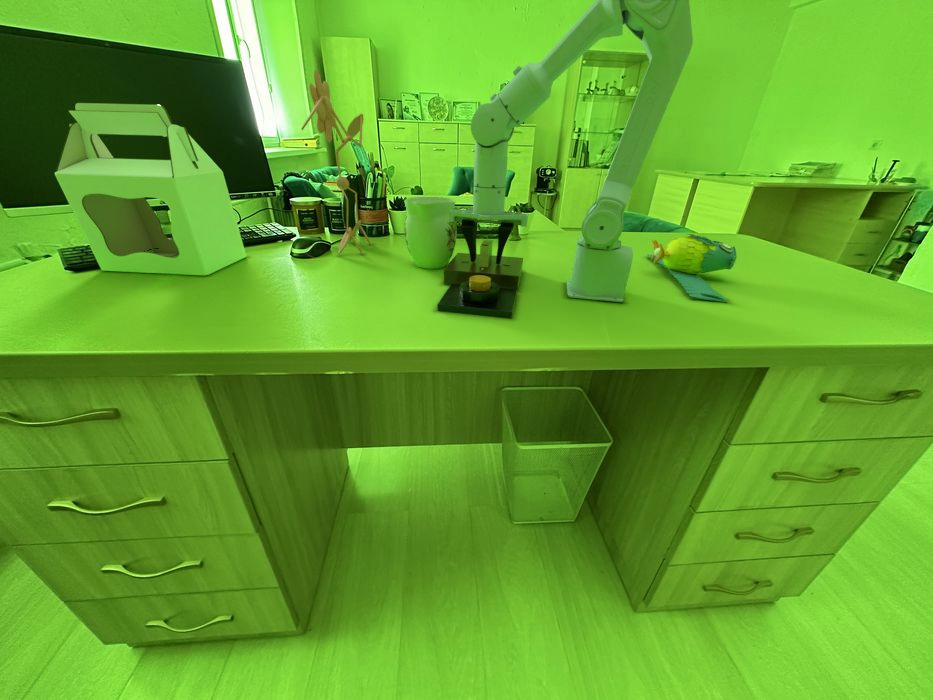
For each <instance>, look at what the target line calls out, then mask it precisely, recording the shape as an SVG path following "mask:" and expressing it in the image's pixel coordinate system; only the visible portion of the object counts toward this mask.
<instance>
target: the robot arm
mask: <svg viewBox="0 0 933 700" xmlns="http://www.w3.org/2000/svg"><path fill="white" fill-rule="evenodd" d="M690 6H691V5H690V0H594V2H592V4H591V5H590V6H589V7H588V8H587V9H586V10H585V11H584V13H582V15H581V16H580V17H579V18H578V19H577V20H576V22H575V23H573V25H572V26H571V27H570V28H569V30H567V31H566V33H565V34H564V35H563V36H562V37H561V38H560V39H559V40H558V41H557V42H556V44H555V45H553V47H552V48H551V49H550V50H549V52H548V53H547V54H546V55H545V56H544V57H543V58H542V59H541V61H539V62H530V61H529V62H526V64H524V65H523V66H521V65H517V66H516V68H514V70H513V71H512V74H513V75H514V76H513V77H512V78H511V79H510V80H509V81H508V83H506V84H505V86H503V88H502V89H501V90H500V91H499V92H498V93H493V94H492V95H491V96H490V97H489V100H490V102H486V103H482V104H480V105H478V107H477V109H476V111H475V112H474V114H473V115H472V117H471V122H470V132H471V135H472V138H473V139H474V158H473V159H474V160H473V161H474V163H473V192H472V194H473V195H472V197H473V198H472V209H456V208H454V209H451V210H450V211H449V222H459V223H461V225H460V231H461V233H462V236H463V238H464V240H465V242H466V245H467V248H468V254H470V259H471V262H474V261H475V260H476V254H477V234H478V224H490V225H491V224H493V225H499V226H498V228H497V237H498V238H497V249H496V250H497V251H496V256H497V257H496V264H500V262H501V257H502V256H503V253H504V249H505V246H506V244H507V241H508V239H509V237H510V235H511V233H512V232H513V229H514V227H515V226H520V227H525V228H527V226H528V221H529V220H528V218H529V213H522V212H513V211H507V210H505V204H506V203H505V202H506V190H507V189H506V187H507V173H508V152H509V151H508V150H509V142H510V141H511V139H512V137H513V136H514V131H515V128H519V127H520V126H521V125H523V123H524V122H526V121H527V119H529V118H530V117H531V116H532V115H533V114H534V113H535V112H536V111H537V110H538V109H539V108H540V107H541V106H542V105H543V104H545V103H546V101H548V100H549V99H550V97H551V93H552V86H553V83H554V82H555V81H556V80H557V79H558V78H559V77H561V75H563V73H565V72H566V71H567V70H568V69H569V68H570V67H571V66H572V65H574V64H575V63H576V62H577V61H578V60H579V59H580V58H581V57H582V56H583V55H584V54H585V53H587V52H588V51H589V50H590V49H591V48H592V47H593V46H595V44H597V42H599V41H600V40H602V39H605V38H606V39H607V38H614V37H620V36H623V33H624V32H623V31H624V29H623V28H624V27H623V26H624V25H625V27H626V28H627V30H628V31H630V32H631V33H632V34H633V35H634V36H635V37H636V38H637V39H638V40H640V41H641V42H640V43H641V45H642V47H643V50H644V52H645V54H646V56H647V58H648V61H649V63H648V66H647V69H646V71H645V74H644V77H643V78H642V81H641V84H640V87H639V89H638V92H637V95H636V97H635V99H634V103H633V105H632V108H631V110H630V112H629V116H628V119H627V121H626V124H625V126H624V129H623V131H622V134H621V136H620V140H619V142H618V145H617V147H616V150H615V152H614V155H613V158H612V161H611V163H610V166H609V168H608V171H607V173H606V176H605V179H604V181H603V184H602V187H601V189H600V192H599V194H598V197H597V199H596V200H595V202H594V203H593V204H591V205H590V207H589V208H588V209H587V211H586V214H585V216H584V217H583V220H582V223H581V226H580V227H581V230H580V231H581V237H579V238H577V243H576V248H575V254H574V260H573V266H572V272H571V276H570V277H571V278H570V280H567V281H566V293H567V297H568V298H570V299H582V300H593V301H602V302H603V301H604V302H614V303H624V300H625V299H624V296H625V294H626V293H625V292H626V289H627V285H628V280H629V278H630V272H631V269H632V264H633V257H634V253H633V248H632V247H631V246H627V245H622V240H620V237H621V236H622V233H623V232H624V231H623V230H624V213H625V210H626V208H627V206H628V203H629V200H630V196H631V193H632V191H633V188H634V185H635V183H636V181H637V178H638V176H639V174H640V171H641V169H642V167H643V165H644V163H645V159H646V157H647V155H648V153H649V150H650V148H651V146H652V144H653V141H654V138H655V136H656V133H657V131H658V130H659V126H660V124H661V122H662V120H663V117H664V114H665V112H666V111H667V108H668V105H669V103H670V100H671V97H672V96H673V94H674V91H675V89H676V86H677V84H678V82H679V79H680V77H681V75H682V72H683V70H684V68H685V66H686V63H687V61H688V59H689V56H690V54H691V51H692V48H693V42H694V41H693V40H694V38H693V27H692V15H691V7H690Z"/></svg>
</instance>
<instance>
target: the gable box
mask: <svg viewBox="0 0 933 700" xmlns="http://www.w3.org/2000/svg"><path fill="white" fill-rule="evenodd" d="M74 108H75V109H69V110H68V112H69V114H70V115H71V116H72V118H74V120H75V121H76V122H73V123H69V127H68V130H67V134H66V137H65V140H64V144H63V146H62V150H61V153H60V155H59V160H58V163H57V166H56V169H55V171H54V176H55V179H56V181H57V182H58V184H59V186H60V188H61V190H62V192H63V194H64V196H65V198H66V201H67V203H68V205H69V207H70V208H71V211H72V212H73V214H74V217H75V219H76V221H77V224H78V225H79V226H80V229H81V231H82V234H83V235H84V237H85V239H86V241H87V244H88V245H89V248H90V250H91V251H92V254H93V257H94V258H95V260H96V262H97V264H98V266H99V268H100V270H101V271H104V272H117V273H118V272H119V273H121V272H122V273H141V274H159V275H160V274H161V275H162V274H163V275H184V276H203V277H204V276H205V277H206V276H209V275H212V274H214V273H216V272H218V271H221V270H222V269H224V268H226V267H229V266H230V265H233V264H234V263H237V262H239V261H241V260H243V259H245V258H247V253H246V250H245V245H244V242H243V239H242V235H241V232H240V229H239V224H238V221H237V218H236V215H235V211H234V207H233V203H232V199H231V197H230V196H231V195H230V193H229V189H228V186H227V182H226V178H225V175H224V171H223V170H222V169H221V168H220V167H219V166H218V165H217V163H216V162H214V160H213V159H212V158H211V157H210V156H209V155H208V154H207V153H206V151H205V150H204V149H203V148H202V147H201V146H200V145H199V144H198V143H197V142H196V140H195V139H194V138H193V137H192V136H191V134H189V131H188V130H187V127H186V126H180V125H178V124H174V123H173V121H172V119H171V116H170V115H169V112H168V110H167V109H166V108H165V106H163V105H161V104H146V103H145V104H144V103H143V104H140V103H139V104H138V103H95V102H93V103H92V102H77V103H75V106H74ZM99 135H120V136H121V135H122V136H123V135H124V136H158V137H159V136H161V137H164V138H166V137H167V144H168V151H169V159H161V158H160V159H158V158H157V159H155V158H128V157H127V158H126V157H125V158H123V157H114V156H113V155H112V153H111V152H110V151H109V149H108V148H107V146H106V145H105V143H104V142H103V140H102V139H101V138H100V136H99ZM146 198H152V199H157V200H160V201H162V202H163V203H165V204H166V205H167V206H168V208H169V213H170V230H171V231H170V232H171V236H172V238H169V237H168V236H167V235H166V234H165V233H164V231H163V228H162V223H161V220H160V218H159V217H158V214H157V213H156V212H155V209H153V208H152V206H151V205H150V203H149V202H148V201H147V199H146ZM152 248H159V249H152ZM149 249H152V250H149ZM147 250H149V251H147ZM144 251H145V252H144Z"/></svg>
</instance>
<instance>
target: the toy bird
mask: <svg viewBox="0 0 933 700" xmlns="http://www.w3.org/2000/svg"><path fill="white" fill-rule="evenodd" d="M652 244H653V250H654V251H653V254H649V253H648V254H646V256H648V257H649V258H650V261H652V260H653V262H652V263H653V264H655V263H658V264H659V265H661V266H662V267H664V269H667V271H668V272H669V273H670V274H671V275H672V277H673V278H674V279H676V281H678V283H679V284H681V286H682V287H683V289H684V290H685V293H686V294H688V295H689V296H690V297H691V298H694V299H699V300H705V301H707V302H722V303H728V300H727V299H726V298H725V296H723V295H722V294H720V293H718V292H717V291H716V290H715V289H714V288H713V287H712V286H710V284H709V283H708V282H707V281H705V279H703V278H702V277H701V276H700V274H706V273H711V272H717V271H722V270H732V268H733V267H734V265H735V263H736V261H737V258H738V255H737V249H736V247H735V246H730V245H729V244H726V243H724V242H722V241H717V240H712V239H709V238H707V237H706V236H704V235H695V234H692V233H687V236H682V237H676V238H674V239H672V240H671V241H670V242H669V243H667V244H666V246H665V248H664V247H663V245H662V244H661V243H659V242H658V241H657V240H656V239H654V240H652Z"/></svg>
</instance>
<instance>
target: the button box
mask: <svg viewBox="0 0 933 700" xmlns="http://www.w3.org/2000/svg"><path fill="white" fill-rule="evenodd" d="M517 295H518V291H517V289H506V288H500V286H499V285H497V284H496V283H494V282H491V289H490V290H487V291H475V290H471V289H469V281H466V282H463V283H462V284H451V285H449V287H448V288H447V289H446V291H445V293H444V294H443V295H442V297H441V299H440V300H439V301H438V302H437V312H444V313H445V312H446V313H453V314H464V315H472V316H473V315H474V316H483V317H493V318H502V319H512V318H513V313H514V310H515V304H516V302H517V301H516V299H517Z"/></svg>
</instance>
